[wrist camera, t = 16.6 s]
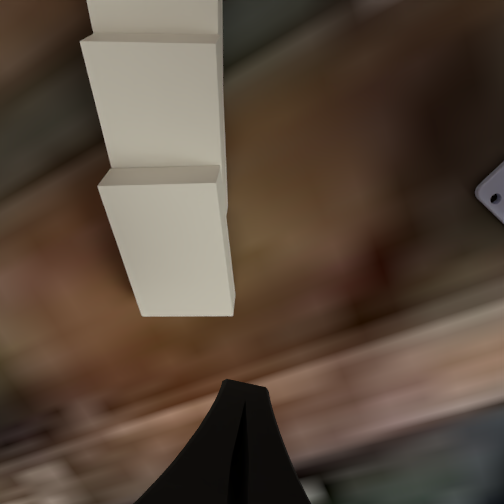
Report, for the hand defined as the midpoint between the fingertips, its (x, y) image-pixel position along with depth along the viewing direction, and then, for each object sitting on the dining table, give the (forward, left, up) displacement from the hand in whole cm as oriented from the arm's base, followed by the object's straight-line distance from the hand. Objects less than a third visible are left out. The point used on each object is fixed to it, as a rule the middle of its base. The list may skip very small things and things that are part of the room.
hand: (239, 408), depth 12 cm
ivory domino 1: (+2, +4, -10) cm, 10 cm away
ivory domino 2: (+5, 0, -10) cm, 11 cm away
